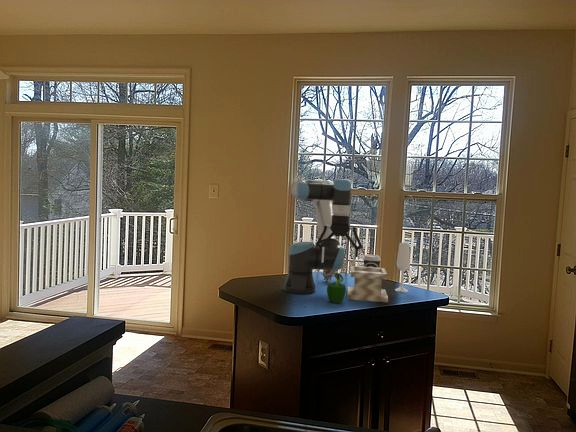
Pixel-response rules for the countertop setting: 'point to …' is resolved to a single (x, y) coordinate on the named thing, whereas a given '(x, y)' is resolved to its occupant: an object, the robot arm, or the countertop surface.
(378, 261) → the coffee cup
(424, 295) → the countertop surface
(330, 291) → the bell pepper
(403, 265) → the champagne flute
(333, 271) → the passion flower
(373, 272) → the display stand
